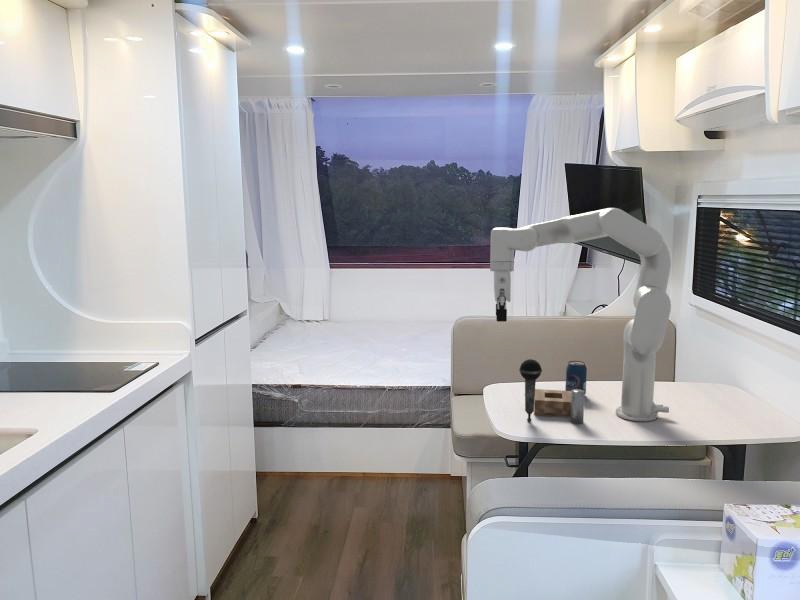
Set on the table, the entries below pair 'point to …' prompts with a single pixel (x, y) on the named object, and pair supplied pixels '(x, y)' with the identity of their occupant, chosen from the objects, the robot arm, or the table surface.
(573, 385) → the soda can
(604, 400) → the table surface
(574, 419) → the pin
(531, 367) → the microphone
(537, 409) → the socket block
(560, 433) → the table surface
